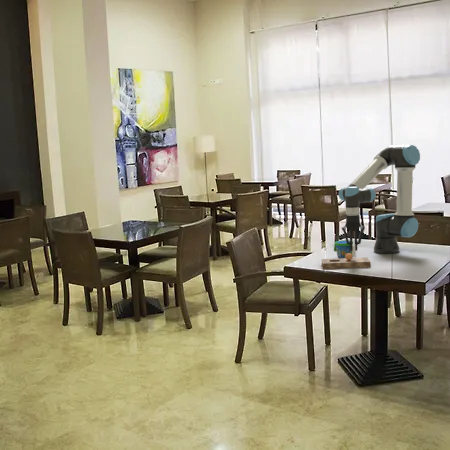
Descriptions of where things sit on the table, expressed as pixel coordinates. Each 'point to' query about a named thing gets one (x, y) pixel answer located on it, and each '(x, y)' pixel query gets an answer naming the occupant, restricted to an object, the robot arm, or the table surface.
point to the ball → (348, 256)
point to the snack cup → (342, 248)
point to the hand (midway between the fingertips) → (353, 256)
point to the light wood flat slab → (346, 263)
